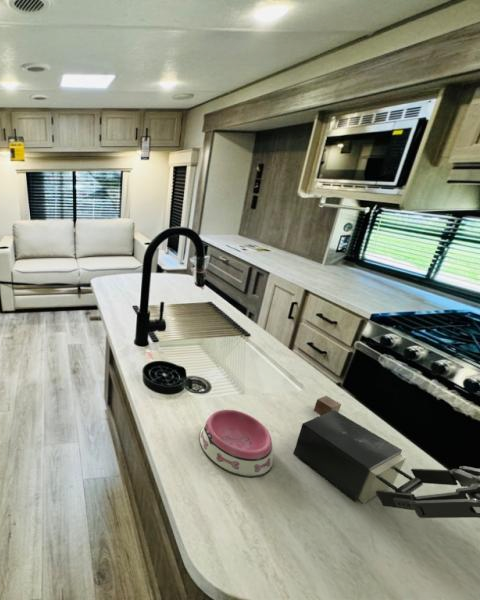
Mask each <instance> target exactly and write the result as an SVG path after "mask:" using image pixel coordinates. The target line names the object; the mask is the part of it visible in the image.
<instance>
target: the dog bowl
mask: <svg viewBox="0 0 480 600" xmlns="http://www.w3.org/2000/svg"><path fill="white" fill-rule="evenodd" d="M198 441H199V446H200V448H201V450H202V452H203V454H204V455H205V456H206V457H207V459H209V460H210V461H211V462H212V463H213V464H215V465H216V466H217V467H218V468H220V469H221V470H223V471H225V472H228V473H230V474H233V475H235V476H239V477H244V478H258V477H259V478H260V477H262V476H265V475H267V474H268V473H269V472H270V471H271V470H272V468H273V466H274V455H273V454H274V453H273V442H272V441H273V440H272V436H271V434H270V432H269V430H268V429H267V427H266V426H265V425H264V424H263V423H261V422H260V421H259V420H258V419H256V418H255V417H254V416H251V415H250V414H248V413H245V412H243V411H240V410H235V409H220V410H217V411H215V412H213V413H211V415H210V416H209V417H208V418H207V420H206V421H205V424H204V425H203V427H202V429H201V431H200V433H199V437H198Z"/></svg>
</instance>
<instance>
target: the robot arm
mask: <svg viewBox="0 0 480 600" xmlns="http://www.w3.org/2000/svg"><path fill="white" fill-rule="evenodd" d="M410 472H411V473H412V474H413V477H414V478H418V479H420V480H421V481H422V482H423V484H431V485H443V486H445V485H447V486H458V484H459V485H460V488H456V489H455V491H452V492H451V491H450V492H444V493H442V492H441V493H434V494H425V495H415V494H414V493H413V492H411V493H398V492H395V491H388V490H387V491H386V490H384V491H378V490H377V491H376V494H377V495H376V496H377V498H378V499H379V501H380V503H381V505H382V506H383V507H388V508H395V509H401V510H402V509H403V510H408V511H409V510H410V511H414V512H415V514H416V515H417V517H418V518H419V519H452V518H453V519H456V518H457V519H458V518H459V519H460V518H461V519H462V518H463V519H464V518H470V519H471V518H477V519H480V468H475V467H471V466H466V465H461V466H459V469H458V468H452V469H451V470H449V469H434V468H433V469H431V468H411V469H410Z"/></svg>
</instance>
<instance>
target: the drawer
mask: <svg viewBox="0 0 480 600" xmlns="http://www.w3.org/2000/svg"><path fill="white" fill-rule="evenodd" d="M406 459H407V457H406V456H404V455H402V453H401V454H399V455H397V456H395V457H393V458H392V459H390V460H388V461H385V462H383V463H382V464H380V465H378V466H376V467H375V468H373V469H371V470H370V472H369V474H368V476H367V479H366V481H365V483H364V485H363V488H362V490H361V492H360V494H359V497H358V499H359V500H358V501H360V502H361V503H363V504H365V503H367V502H369V501H370V500H371V499H373V498H375V497H376V496H378V495H377V494H376V491H377V490H378V491H386V490H387V489H392V490H393V491H394V492H398V493H413V492H415V491H416V490H417V489H419V488H421V487H422V486H424V483H423V482H422V481H421V480H420V479H418V478H415V477H412V476H411V475H409V474H407V473H406V472H404V471H403V470H401V469H402V467H403V465H404V463H405V461H406ZM399 474H400V475H401V476H403V477H404V478H406V479H407V480H408V481H406V482H405V483H403V484H401V485H400V486H399V487H397V486H396V485H394V484H395V481H396V480H397V477H398V475H399Z"/></svg>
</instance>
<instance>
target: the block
mask: <svg viewBox="0 0 480 600" xmlns="http://www.w3.org/2000/svg"><path fill="white" fill-rule="evenodd" d="M341 406H342V403H341V402H339V401H337V400H335V399H333V398H331V397H330V396H328V395H324V396H322V397H319V398H317V399H316V402H315V405H314V408H313V411H314V412H315V413H317V414H318V415H320V416H321V415H323V414H326V413H328V412H330V411H333V410H335V411H337V412H338V413H340V410H341V409H340V408H341Z"/></svg>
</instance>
